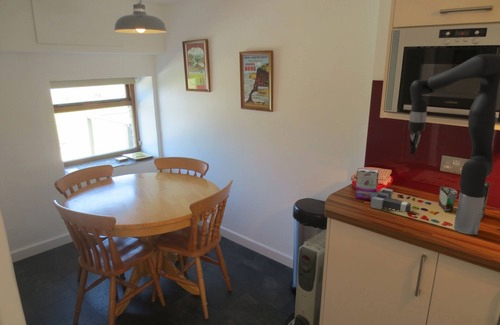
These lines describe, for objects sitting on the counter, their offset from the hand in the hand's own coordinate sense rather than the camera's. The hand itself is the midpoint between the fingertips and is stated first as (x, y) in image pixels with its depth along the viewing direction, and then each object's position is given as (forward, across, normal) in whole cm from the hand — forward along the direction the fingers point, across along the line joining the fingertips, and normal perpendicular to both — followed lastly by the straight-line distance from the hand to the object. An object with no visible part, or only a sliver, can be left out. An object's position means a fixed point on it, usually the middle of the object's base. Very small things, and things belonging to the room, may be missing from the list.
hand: (413, 154), depth 174 cm
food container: (+27, +4, -19) cm, 33 cm away
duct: (+27, -8, +12) cm, 30 cm away
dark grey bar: (+27, -12, +4) cm, 30 cm away
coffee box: (+27, +4, -31) cm, 41 cm away
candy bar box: (+27, -7, +20) cm, 34 cm away
